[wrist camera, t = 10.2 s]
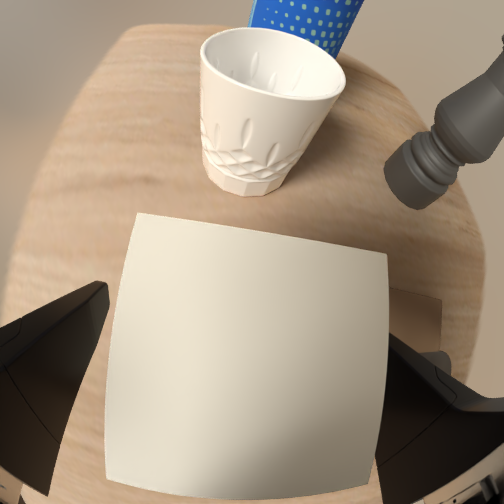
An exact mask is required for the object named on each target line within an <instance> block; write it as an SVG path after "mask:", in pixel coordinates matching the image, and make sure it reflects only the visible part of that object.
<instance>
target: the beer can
mask: <svg viewBox="0 0 504 504" xmlns="http://www.w3.org/2000/svg"><path fill="white" fill-rule="evenodd" d="M363 1H364V0H254V1H253V5H252V10H251V14H250V18H249V23H248V27H254V28H266V29H272V30H277V31H282V32H285V33H289V34H292V35H295V36H298V37H300V38H303V39H305V40H307V41H309V42H311V43H313V44H315V45H316V46H318V47H320V48H321V49H323V50H324V51H325V52H327V53H328V54H329V55H330V56H332V57H333V58H334V59H336V57H337V55H338V53H339V51H340V49H341V46H342V44H343V42H344V40H345V38H346V36H347V34H348V32H349V30H350V28H351V26H352V24H353V22H354V20H355V18H356V15H357V14H358V12H359V9H360V8H361V6H362V4H363Z"/></svg>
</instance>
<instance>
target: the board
mask: <svg viewBox="0 0 504 504" xmlns="http://www.w3.org/2000/svg"><path fill="white" fill-rule="evenodd" d="M441 315H442V300H440V299H436V298H431V297H427V296H423V295H419V294H415V293H410V292H406V291H402V290H398V289H393V288H389V332H390V333H391V334H393V335H394V336H396V337H397V338H398V339H400V340H401V341H403V342H404V343H405V344H407V345H408V346H410V347H411V348H412V349H414V350H415V351H416V352H418V353H419V354H421V355H422V356H423V357H425V358H426V359H428V360H429V361H430V362H432V363H433V364H434V365H436V366H437V367H439V368H440V369H441V370H443V371H444V372H446V373H447V374H448V375H450V376H451V361H450V358H449V356H448V355H447V354H446V353H445V352H443V351H439V349H440V336H441Z"/></svg>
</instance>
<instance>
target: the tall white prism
mask: <svg viewBox="0 0 504 504" xmlns="http://www.w3.org/2000/svg"><path fill="white" fill-rule="evenodd" d="M388 339H389V285H388V264H387V254H384V253H379V252H374V251H369V250H363V249H358V248H353V247H347V246H342V245H336V244H331V243H325V242H320V241H314V240H309V239H303V238H297V237H291V236H286V235H280V234H274V233H268V232H262V231H256V230H250V229H243V228H237V227H231V226H225V225H218V224H212V223H205V222H199V221H192V220H185V219H179V218H172V217H165V216H158V215H151V214H144V213H137V217H136V220H135V224H134V227H133V231H132V235H131V239H130V243H129V247H128V251H127V255H126V259H125V264H124V268H123V273H122V277H121V282H120V287H119V292H118V298H117V303H116V309H115V315H114V321H113V328H112V335H111V343H110V351H109V360H108V370H107V382H106V398H105V466H106V479H109V480H112V481H115V482H119V483H123V484H126V485H130V486H134V487H138V488H143V489H147V490H152V491H157V492H163V493H168V494H175V495H182V496H189V497H199V498H210V499H228V500H264V499H281V498H293V497H302V496H310V495H317V494H323V493H329V492H334V491H339V490H344V489H349V488H353V487H357V486H361V485H365V484H368V481H369V477H370V473H371V469H372V465H373V460H374V455H375V451H376V446H377V440H378V435H379V429H380V423H381V417H382V409H383V402H384V393H385V384H386V373H387V359H388Z"/></svg>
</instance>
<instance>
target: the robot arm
mask: <svg viewBox="0 0 504 504" xmlns="http://www.w3.org/2000/svg"><path fill="white" fill-rule="evenodd" d="M109 305H110V301H109V291H108V285H107V283H106V282H102V281H94V282H92V283H90V284H88V285H86V286H83V287H81V288H79V289H77V290H75V291H73V292H71V293H69V294H67V295H65V296H63V297H61V298H59V299H57V300H54V301H52V302H50V303H48V304H46V305H44V306H42V307H40V308H38V309H36V310H34V311H32V312H30V313H29V314H27V315H25V316H23V317H22V318H19V319H17V320H15V321H13V322H11V323H9V324H7V325H5V326H3V327H1V328H0V504H25V502H24V500H23V498H22V496H21V494H20V493H21V489H22V485H23V484H25V485H27V486H28V487H30V488H32V489H34V490H36V491H37V492H39V493H41V494H43V495H45V496H47V497H48V494H49V490H50V485H51V480H52V476H53V472H54V467H55V463H56V460H57V456H58V452H59V449H60V444H61V441H62V438H63V434H64V431H65V428H66V425H67V422H68V419H69V416H70V413H71V410H72V407H73V404H74V401H75V398H76V396H77V393H78V390H79V388H80V385H81V382H82V380H83V377H84V375H85V372H86V370H87V367H88V365H89V363H90V360H91V358H92V355H93V353H94V351H95V348H96V346H97V343H98V340H99V337H100V334H101V331H102V328H103V325H104V322H105V319H106V316H107V313H108V310H109ZM375 459H376V465H377V467H378V468H377V471H378V476H379V482H380V487H381V493H382V500H383V504H413V503H415V502H417V501H419V500H422V499H423V500H424V503H425V504H504V397H503V398H487V397H484V396H481V395H480V394H478V393H476V392H475V391H473V390H472V389H470V388H468V387H467V386H465V385H464V384H462V383H461V382H459V381H457V380H456V379H454V378H453V377H451V376H450V375H448V374H447V373H446V372H444V371H443V370H441V369H440V368H439V367H437V366H436V365H434V364H433V363H432V362H430V361H429V360H428V359H426V358H425V357H423V356H422V355H421V354H419V353H418V352H416V351H415V350H414V349H412V348H411V347H410V346H408V345H407V344H405V343H404V342H403V341H401V340H400V339H398V338H397V337H396V336H394V335H393V334H391V333H390V332H389V339H388V359H387V373H386V384H385V393H384V402H383V409H382V417H381V423H380V429H379V435H378V440H377V446H376V451H375Z"/></svg>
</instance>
